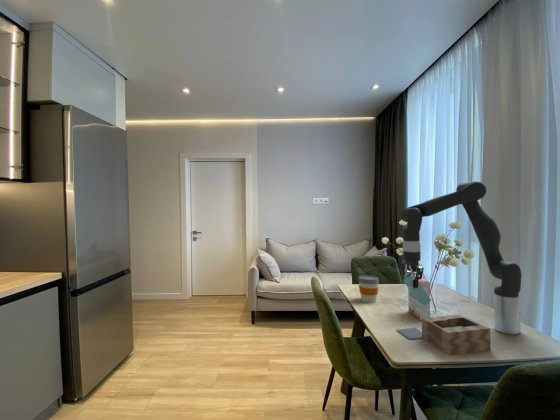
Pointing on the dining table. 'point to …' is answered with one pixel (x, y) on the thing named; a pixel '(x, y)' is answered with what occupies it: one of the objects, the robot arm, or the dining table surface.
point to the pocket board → (456, 334)
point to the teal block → (417, 291)
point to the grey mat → (411, 333)
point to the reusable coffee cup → (368, 288)
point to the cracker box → (414, 305)
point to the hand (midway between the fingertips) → (412, 286)
